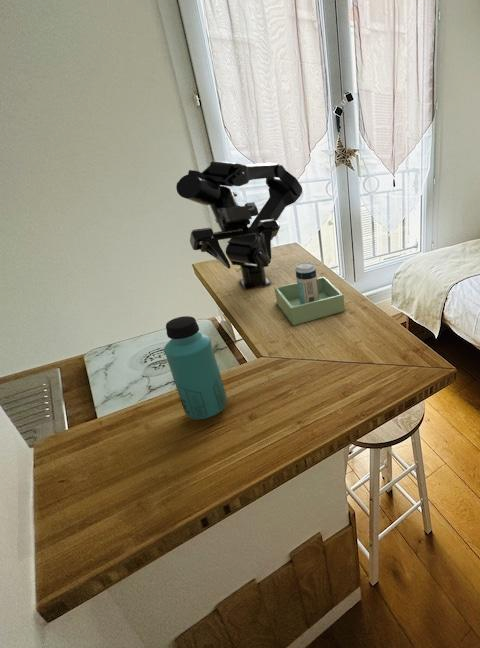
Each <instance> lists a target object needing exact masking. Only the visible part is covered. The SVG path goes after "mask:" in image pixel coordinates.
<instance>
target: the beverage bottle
mask: <svg viewBox="0 0 480 648" xmlns="http://www.w3.org/2000/svg"><path fill="white" fill-rule="evenodd" d="M165 330H166V335H167V337H168V339H170V340H169V341H167V343H166V344H165V346H164V347H163V353H164V355H165V358H166V360H167V363H168V367H169V370H170V373H171V376H172V380H173V382H174V386H175V390H176V391H177V392H176V393H177V396H178V400H179V402H180V404H181V407H182V410H183V413H184V415H185V416H186V417H188V418H189V419H192V420H204V419H209V418H211V417H213V416H217V414H219V413H220V412H221V411H223V410H224V409H225V407H226V405H227V402H228V394H227V390H226V389H225V388H226V387H225V384H224V381H223V378H222V374H221V371H220V370H221V369H220V367H219V365H218V361H217V359H216V355H215V352H214V348H213V345H212V340H211V338H210V336H209V335H208V334H206V333H202V332H199V331H200V327H199V324H198V322H197V319H196V318H195V317H193V316H190V315H189V316H186V315H185V316H179V317H174V318H173V319H170V320H169V321H167V322H166V324H165Z"/></svg>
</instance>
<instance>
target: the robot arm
mask: <svg viewBox="0 0 480 648" xmlns="http://www.w3.org/2000/svg"><path fill="white" fill-rule="evenodd" d="M262 179H265V185H266V186H267V187H268V194H269V197H268V199H267V201H266V202H265V203H264V205H263V206H262V208H261V209H260V211H259V210H258V207H257V205H256V203H255V202H254V201H253V202H246V203H244V205H242V206H241V205H239V204H238V202H237V200H236V197H237V196H238V193H236V192H235V191H234V190H232V189H231V188H230V187H241V186H243V185H247V184H249V183H250V181H252V180H253V181H254V180H262ZM175 188H176V192H177V194H178V195H179V196H180V197H181V198H183V199H186V200H189V201H192V202H194V203H197V204H200V205H204V206H210V209H211V211H212V214H213V215H214V218H215V223H216V224H218V227H219V229H220V231H215V232H214V231H213V229H212V228H211V227H204V228H198V229H197V228H195V229H192V230H191V232H190V238H189V243H190V246H191V248H192V250H194V251H200V252H201V253H207V254H209V255H210V256H212V257H213V258H215V259H216V260H217V261H218V262H220V264H222V265H223V266H224V267H225V268H227V269H231V265H233V266H240V271H241V276H242V278H241V279H239V282H240V283H241V285H242V286H243V288H244V289H245V290H249V289H254V288H259V287H264V286H269V285H271V281H270V280H269V279H268V278H267V276H266V271H265V268H266V267H269V265H270V264H271V261H272V240H273V239H274V238H275V237H276V236H277V235H278V233H279V230H280V228H281V225H280V223H279V221H278V220H279V218H280V216H281V215H282V214H283V212H284V211H285V209H286V208H287V207H288V206H291V205H292V204H295V203H296V202H297V201H298V199H299V198H300V197H301V195H302V194H303V186H302V185H301V183H300V182H299V180H298V179H297V177H296V176H294V175H293V174H291V173H290V172H288V171H287V170H286V168H285V167H284V166H283V165H282V164H280V163H274V162H264V163H247V164H245V163H244V164H242V163H238V162H237V163H236V162H230V161H229V162H228V161H223V160H222V161H221V160H212V161H211V162H210V163H209V166H207V167H206V168H205V169H204V170H203V171H202V172H200V171H198V170H193V169H189V170H188V172H187V174H186V175H183V176H181V178H179V180H178V181H177V182H176V186H175ZM253 217H255V218H254V220H253V221H252V222H251V221H250V220H252V219H253ZM228 239H229V240H228ZM222 240H228V241H227V245H226V248H225V253H224V251H223V249H222V247H221V245H220V242H219V241H222ZM230 263H231V264H230Z"/></svg>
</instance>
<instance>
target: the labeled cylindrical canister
mask: <svg viewBox="0 0 480 648" xmlns="http://www.w3.org/2000/svg"><path fill="white" fill-rule="evenodd" d="M294 271H295V278H296V283H297V286H298V293H299V301H300V305H301V304H305V303H309V302H313V301H317V300H319V294H318V285H317V278H318V277H317V268H316V266H315V264H313V263H312V262H301V263H298V264H297V265H296V267H295V270H294Z"/></svg>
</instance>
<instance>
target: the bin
mask: <svg viewBox="0 0 480 648" xmlns="http://www.w3.org/2000/svg"><path fill="white" fill-rule="evenodd" d="M317 285H318V294H319V300H317V301H313V302H309V303H305V304H301V305H300V301H299V293H298V286H297V282H293V283H287V284H283V285H279V286H275V287H273V288H274V293H275V299H276V304H277V306H278V307H279V309H280V310H281V311H282V312H283V314H284V315H285V316H286V318H287V319H288V321H289V322H290V323H291V324H292V326H296V325H300V324H304V323H307V322H310V321H314V320H317V319H320V318H325V317H329V316H331V315H332V316H333V315H335V314H338V313H339V314H340V313H342V312H345V298H344V294H343V293H342V292H341V291H340V290H339V289H338V288H337V287H336V286H335V285H334V284H333V283H332V282H330V280H329V279H327V277H326V276H320V277H317Z"/></svg>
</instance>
